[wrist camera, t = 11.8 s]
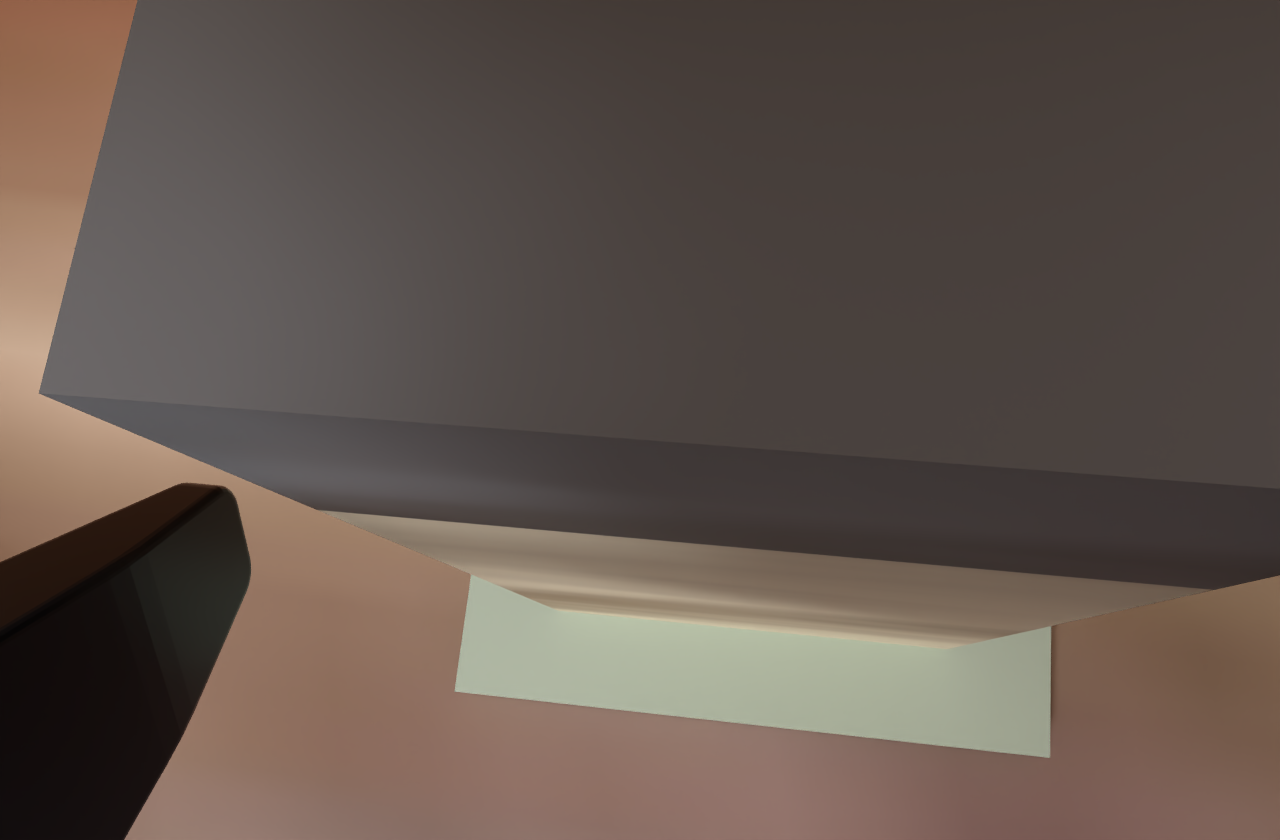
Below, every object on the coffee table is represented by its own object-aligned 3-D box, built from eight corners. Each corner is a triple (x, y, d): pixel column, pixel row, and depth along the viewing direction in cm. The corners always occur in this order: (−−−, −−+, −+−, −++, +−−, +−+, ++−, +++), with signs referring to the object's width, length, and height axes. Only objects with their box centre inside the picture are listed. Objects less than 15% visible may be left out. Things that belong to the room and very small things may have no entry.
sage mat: (1038, 755, 16) (1050, 757, 15) (464, 691, 17) (454, 691, 16) (1045, 211, 18) (1055, 195, 17) (535, 187, 19) (529, 170, 19)
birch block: (946, 648, 16) (1569, 511, 4) (558, 611, 17) (38, 394, 5) (958, 278, 17) (1432, -676, 5) (600, 259, 18) (293, -614, 6)
